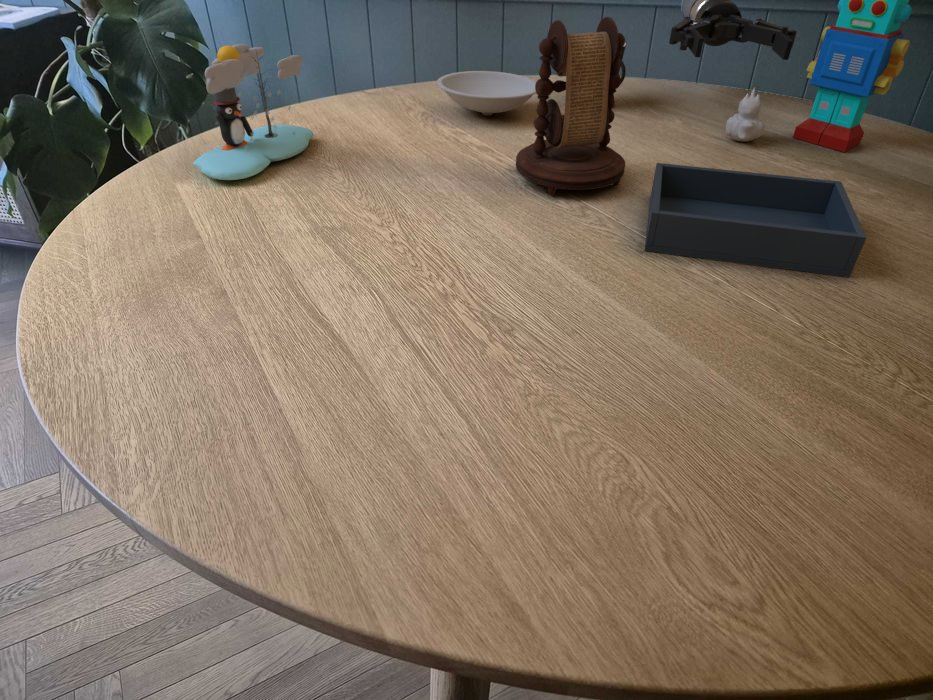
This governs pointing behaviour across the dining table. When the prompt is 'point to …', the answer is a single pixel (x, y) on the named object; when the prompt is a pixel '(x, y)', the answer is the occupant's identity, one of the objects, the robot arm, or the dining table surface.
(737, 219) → the bin
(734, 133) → the white figurine
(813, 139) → the toy robot
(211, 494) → the dining table surface
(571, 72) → the scroll
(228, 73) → the penguin figurine
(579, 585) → the dining table surface
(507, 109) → the dish
